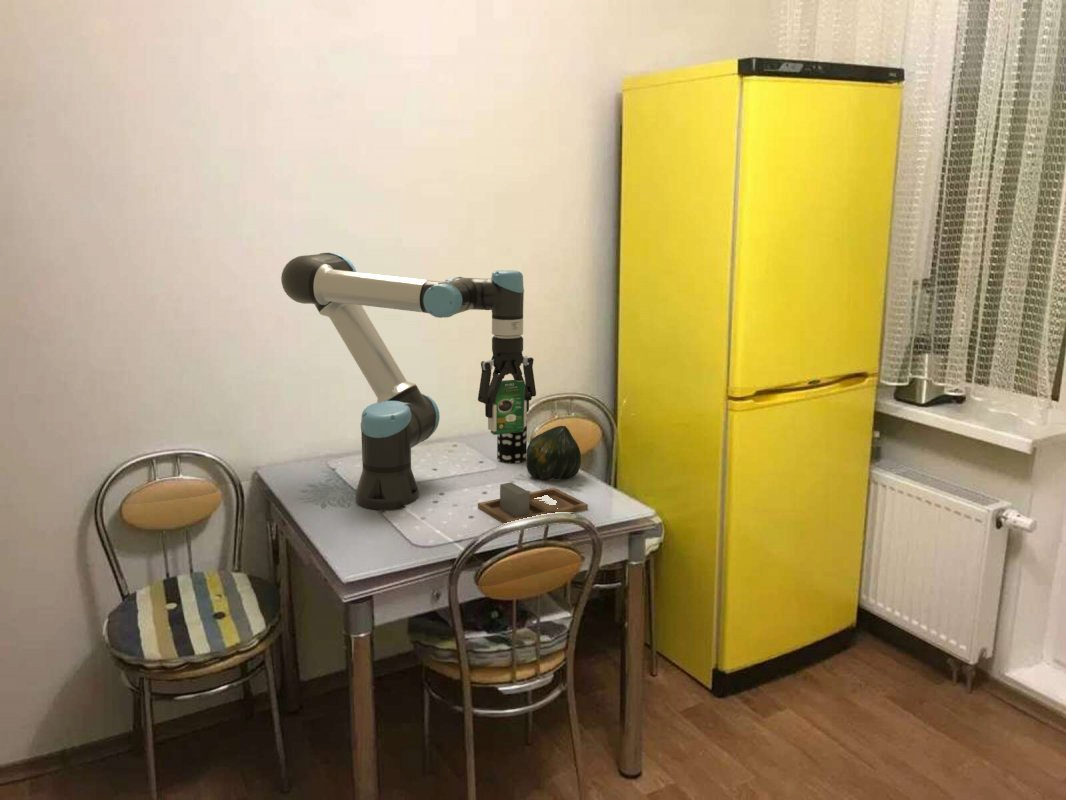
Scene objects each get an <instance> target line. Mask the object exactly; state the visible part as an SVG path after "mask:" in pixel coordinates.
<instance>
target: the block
mask: <svg viewBox="0 0 1066 800" xmlns="http://www.w3.org/2000/svg"><path fill="white" fill-rule="evenodd" d="M529 496H530V491H528V490H526V489H524V488H522V487H521V486H519V485H517V484H515V483H513V482H505V483H501V484H500V485H499V499H500V509H502V510H503V511H505V512H507V513H508V514H510V515H512V516H514V517H515V518H519V517H523V516H528V515H529Z"/></svg>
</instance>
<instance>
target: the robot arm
mask: <svg viewBox="0 0 1066 800" xmlns="http://www.w3.org/2000/svg"><path fill="white" fill-rule="evenodd" d="M280 279H281V286H282V289H283V291H284V292H285V294H286V295H287V296H288V297H289V299H290V300H293V301H294V302H296V303H300V304H306V305H308V304H312V305H314V306H315V308H316V309H317V311H318V313H319V314H320V315H321V316H324V317H327V318H329V319H330V320H331V322H332V324H333V326H334V327H335V330H336V331H337V333H338V334H339V335H340V338H341V339H342V341H343V343H344V345H345V346H346V348H347V350H348V351H349V352H350V355H351V356H352V358H353V360H354V361H355V364H357V366H358V368H359V369H360V371H361V373H362V375H363V376H364V378H365V379H366V381H367V383H368V384H369V386H370V387H371V390H372V391H373V394H374V395H375V396H376V397H377V401H376V402H374V403H371V404H370V405H368V406H366V407H365V408H364V409H363V411H362V413H361V422H360V429H361V458H362V459H361V460H362V470H361V471H362V472H361V474H360V477H359V481H358V484H357V488H356V490H355V502H356V503H357V504H358V505H359V506H361V507H363V508H366V509H369V510H381V511H387V510H388V511H391V510H399V509H403V508H406V506H407V505H410V504H412V503H414V502H416V501H417V500H418V499H419V497H420V496H419V495H420V491H419V487H418V484H417V481H416V478H415V476H414V472H413V470H412V448H414V447H415V446H416V445H419V444H420V443H423V442H425V441H426V440H428V439H429V438H430V437H431V436H432V435H433V434H434V433H435V432H436V430H437V428H438V426H439V422H440V419H441V418H440V417H441V416H440V410H439V407H438V405H437V403H436V402H435V400H434V399H433V398H432V397H430V396H428V395H426V394H425V393H421V391H420V389H419V387H418V385H417V384H416V383H413V382H411V381H410V382H409V381H408V380H407V379H406V377H405V375H404V374H403V372H402V371H401V369H400V367H399V365H398V364H397V362H396V361H395V359H394V357H393V355H392V353H391V352H390V351H389V350H390V349H388V347H387V345H386V343H384V341H383V339H382V338H381V336H380V334H379V332H378V331H377V329H376V327H375V325H374V324H373V322H372V319H370V317H369V315H368V314H367V312H366V310H365V309H364V307H363V306H365V307H366V306H367V307H373V308H382V309H392V310H399V311H407V312H408V311H409V312H415V313H417V312H418V313H425V314H428V315H429V314H430V315H431V316H433V317H434V318H439V319H440V318H441V319H442V318H450V317H452V316H454V315H457V314H460V313H464V312H466V311H469V310H471V311H472V310H474V311H476V310H478V311H491V334H492V335H493V336H492V337H491V353H492V356H491V360H487V361H485V360H482V361H481V362H480V367H481V374H480V382H479V383H480V384H479V389H478V394H477V395H478V396H477V401H478V402H479V403H481V404H484V405H485V407H484V409H485V412H484V413H485V417H486V418H487V430H489V431H490V432H491V431H494V432H495V431H497V405H495V404H494V401H495V398H496V395H497V392H498V390H499V387H500V384H501V381H503V379H505V376H508V375H509V374H511V376H512V378H513V380H518V381H522V380H523V381H525V391H524V427H525V426H526V420H527V421H528V412H530V411H529V410H530V401H531V400H532V399H533V397H536V396H537V390H536V383H535V376H534V368H533V367H534V366H533V365H534V358H533V357H531V356H527V355H525V356H524V355H523V351H524V337H523V336H522V335H524V302H525V301H524V299H525V298H524V297H525V296H524V295H525V288H524V275H523V273H522V272H521V271H519V270H513V269H512V270H511V269H510V270H504V269H501V270H493V272H491V277H490V278H479V277H478V278H477V277H463V276H457V277H456V276H455V277H448V278H446V279H445V281H438V280H429V279H423V278H422V279H421V278H420V279H419V278H412V277H403V276H396V275H393V276H392V275H385V274H376V273H368V272H367V273H366V272H360V271H359V272H358V271H357V270H356V267H355V266H354V264H353V262H351V260H350V259H349V258H347V257H346V256H344V255H342V254H339V253H334V252H321V253H317V254H308V255H307V254H306V255H300V256H296V257H294V258H292V259H291V260H289V261H288V262H287V263H286V264H285V266H284V267H283V269H282V272H281V276H280ZM521 365H522V368H523V371H522V369H521ZM493 367H494V368H493ZM492 370H493V372H492ZM523 375H524V376H523Z"/></svg>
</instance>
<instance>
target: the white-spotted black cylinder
mask: <svg viewBox="0 0 1066 800" xmlns="http://www.w3.org/2000/svg"><path fill="white" fill-rule="evenodd" d="M496 436H497V438H496V439H497V440H496V441H497V443H496V445H497V446H496V448H497V449H496V460H497V461H498V462H501V463H503V464H520V463H523V462H525V461H526V462H527V448H528V446H527V445H528V443H527V441H528V439H527V438H528V419H527V420H526V426H525V427H524V431H523V432H518V433H507V434H497V435H496Z"/></svg>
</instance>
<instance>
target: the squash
mask: <svg viewBox="0 0 1066 800" xmlns="http://www.w3.org/2000/svg"><path fill="white" fill-rule="evenodd" d="M527 445H528V446H527V453H526V468H527V469H526V470H527V472H528V473H529V475H530V477H533V478H534V479H535V478H536V479H541V481H549V480H551V479H553V480H560V479H562V480H563V479H566V480H567V479H571V478H574V477H575V476H576V475H578V473H579V471H580V468H581V464H582V463H581V461H582V457H581V456H582V455H581V449H580V447H579V445H578V443H577V441H576V440H575V438H574V436H573V435H572V432H571V431H570V430H569V428H568V427H567V426H566V425H558V426H557V425H556V426H555V427H552V428H551V429H548V430H546V431H543V432H542V433H540V434H538V435H536V436H535V437H533V438H532V439H531V440H530V441H529V443H528V444H527Z"/></svg>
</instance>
